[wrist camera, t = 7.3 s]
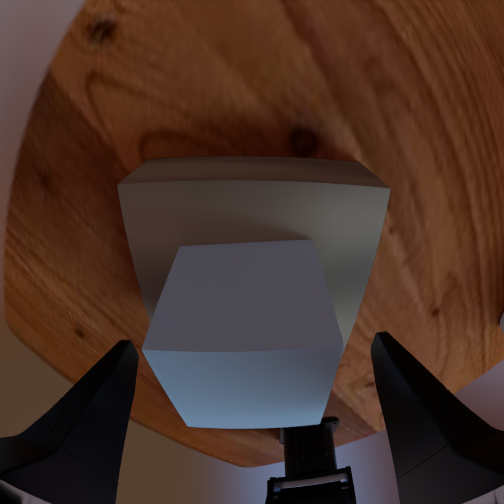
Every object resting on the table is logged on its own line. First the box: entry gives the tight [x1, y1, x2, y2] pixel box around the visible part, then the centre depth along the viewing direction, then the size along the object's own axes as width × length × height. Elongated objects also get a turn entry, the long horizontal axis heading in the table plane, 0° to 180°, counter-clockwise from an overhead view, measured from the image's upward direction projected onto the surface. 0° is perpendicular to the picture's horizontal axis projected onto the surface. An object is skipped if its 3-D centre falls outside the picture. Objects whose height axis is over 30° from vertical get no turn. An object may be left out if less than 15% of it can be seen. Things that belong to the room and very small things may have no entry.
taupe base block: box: [117, 156, 391, 360], centre depth 14 cm, size 10×10×4 cm
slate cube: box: [142, 239, 344, 429], centre depth 10 cm, size 5×5×5 cm
